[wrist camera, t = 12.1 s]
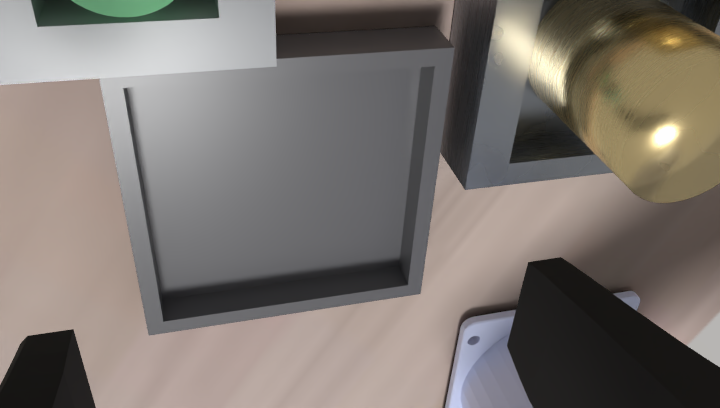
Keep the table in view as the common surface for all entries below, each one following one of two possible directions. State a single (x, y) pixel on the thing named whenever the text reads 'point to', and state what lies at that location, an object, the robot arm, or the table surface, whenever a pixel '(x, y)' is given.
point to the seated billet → (635, 91)
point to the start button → (123, 6)
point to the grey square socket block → (132, 40)
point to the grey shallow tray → (515, 97)
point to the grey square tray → (282, 176)
